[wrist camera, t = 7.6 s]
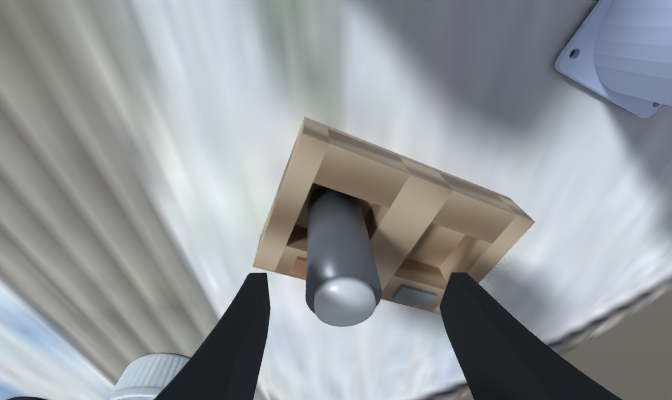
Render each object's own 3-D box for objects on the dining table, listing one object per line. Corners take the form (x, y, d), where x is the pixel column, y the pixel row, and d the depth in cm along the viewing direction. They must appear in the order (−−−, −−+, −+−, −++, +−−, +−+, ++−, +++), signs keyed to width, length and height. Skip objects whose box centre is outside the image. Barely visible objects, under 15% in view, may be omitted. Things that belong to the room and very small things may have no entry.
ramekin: (225, 361, 31) (212, 407, 27) (198, 399, 35) (184, 445, 31) (134, 338, 28) (106, 386, 25) (116, 383, 32) (90, 430, 28)
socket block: (304, 116, 18) (302, 135, 15) (509, 198, 22) (537, 224, 19) (259, 238, 23) (251, 269, 20) (435, 287, 27) (449, 319, 24)
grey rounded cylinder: (319, 175, 19) (323, 270, 12) (368, 192, 20) (399, 290, 13) (301, 217, 21) (294, 323, 14) (346, 231, 22) (363, 337, 15)
